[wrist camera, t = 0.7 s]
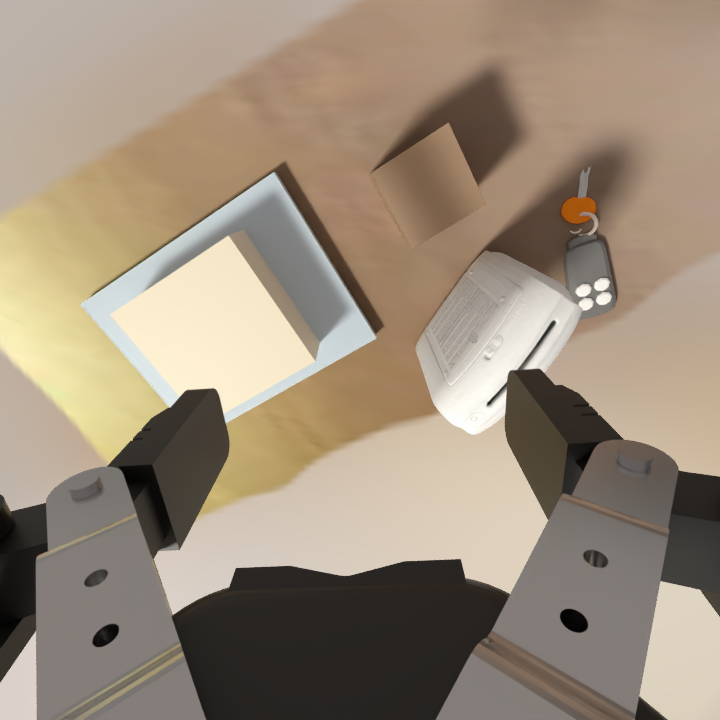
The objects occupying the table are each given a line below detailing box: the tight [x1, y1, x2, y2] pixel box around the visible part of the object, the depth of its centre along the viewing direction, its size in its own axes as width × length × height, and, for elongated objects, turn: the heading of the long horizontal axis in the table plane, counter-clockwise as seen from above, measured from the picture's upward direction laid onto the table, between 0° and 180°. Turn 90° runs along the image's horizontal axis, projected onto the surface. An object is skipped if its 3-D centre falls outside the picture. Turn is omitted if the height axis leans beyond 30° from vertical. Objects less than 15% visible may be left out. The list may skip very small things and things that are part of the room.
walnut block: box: [369, 123, 486, 248], centre depth 28 cm, size 5×5×6 cm
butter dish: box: [80, 172, 377, 423], centre depth 32 cm, size 18×14×5 cm
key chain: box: [561, 167, 616, 320], centre depth 32 cm, size 13×4×2 cm, turn 19°
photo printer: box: [416, 250, 583, 434], centre depth 28 cm, size 10×4×12 cm, turn 148°
